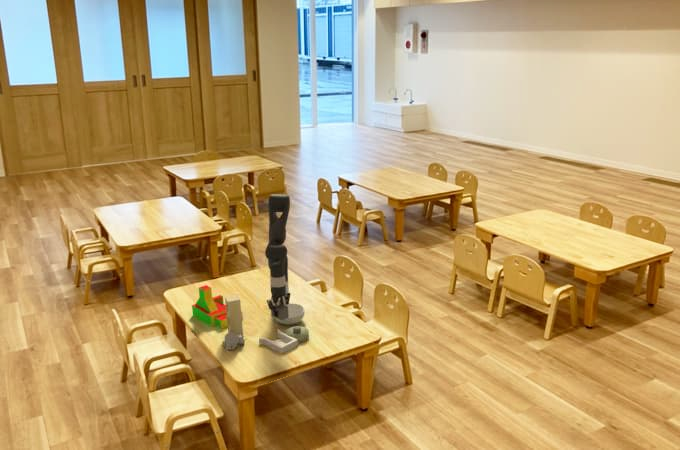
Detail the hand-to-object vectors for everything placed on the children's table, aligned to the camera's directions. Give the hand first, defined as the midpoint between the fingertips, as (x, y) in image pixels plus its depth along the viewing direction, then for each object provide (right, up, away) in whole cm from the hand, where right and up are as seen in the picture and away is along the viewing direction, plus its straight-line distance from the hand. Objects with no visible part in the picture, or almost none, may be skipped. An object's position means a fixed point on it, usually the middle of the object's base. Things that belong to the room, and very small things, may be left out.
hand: (279, 314), depth 304 cm
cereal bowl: (+3, -8, +30) cm, 31 cm away
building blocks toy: (-37, -7, +36) cm, 53 cm away
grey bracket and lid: (+3, -15, +10) cm, 18 cm away
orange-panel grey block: (0, -1, 0) cm, 1 cm away
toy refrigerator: (-25, -13, +17) cm, 33 cm away
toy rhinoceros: (-23, -17, +4) cm, 29 cm away
